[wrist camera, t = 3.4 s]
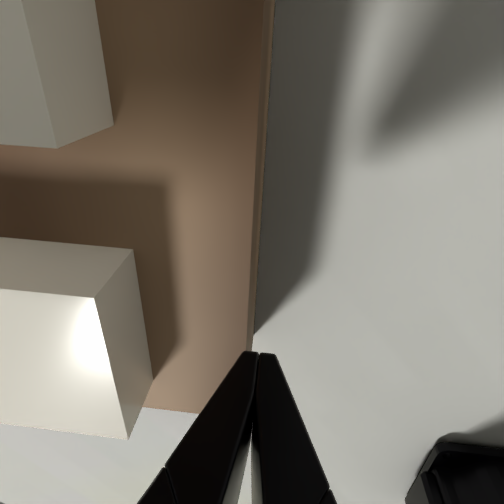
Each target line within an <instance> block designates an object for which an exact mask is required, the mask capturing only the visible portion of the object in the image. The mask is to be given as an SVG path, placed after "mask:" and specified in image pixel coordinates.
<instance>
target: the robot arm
mask: <svg viewBox="0 0 504 504" xmlns="http://www.w3.org/2000/svg"><path fill="white" fill-rule="evenodd" d="M252 424H253V425H252ZM251 433H252V438H251ZM250 441H251V483H252V504H337V502H336V500H335V497H334V495H333V492H332V490H330V489H329V487H330V486H329V483H328V481H327V478H326V476H325V473H324V471H323V469H322V466H321V464H320V461H319V459H318V456H317V454H316V451H315V449H314V447H313V444H312V442H311V439H310V437H309V434H308V432H307V430H306V427H305V425H304V422H303V420H302V417H301V415H300V412H299V410H298V408H297V405H296V403H295V400H294V398H293V395H292V393H291V391H290V388H289V386H288V383H287V381H286V378H285V376H284V373H283V371H282V369H281V366H280V364H279V361H278V359H277V357H276V355H275V354H271V353H260V354H258V352H253V351H243V352H242V353H241V354H240V356H239V357H238V359H237V360H236V362H235V363H234V365H233V366H232V368H231V369H230V370H229V372H228V373H227V375H226V376H225V378H224V379H223V381H222V382H221V384H220V385H219V386H218V388H217V389H216V391H215V392H214V394H213V395H212V397H211V398H210V399H209V401H208V402H207V404H206V405H205V407H204V408H203V410H202V411H201V413H200V414H199V415H198V417H197V418H196V420H195V421H194V423H193V424H192V426H191V427H190V429H189V430H188V431H187V433H186V434H185V436H184V437H183V439H182V440H181V442H180V443H179V445H178V446H177V447H176V449H175V450H174V452H173V453H172V455H171V456H170V458H169V459H168V460H167V462H166V463H165V468H164V467H163V468H162V469H161V470H160V472H159V473H158V475H157V476H156V478H155V479H154V481H153V482H152V483H151V485H150V486H149V488H148V489H147V490H146V492H145V493H144V494H143V496H142V497H141V499H140V500H139V501H138V503H137V504H237V503H238V498H239V494H240V489H241V485H242V480H243V475H244V471H245V466H246V461H247V457H248V452H249V447H250ZM405 503H406V504H504V449H496V448H488V447H479V446H471V445H463V444H455V443H439V444H437V445H436V446H435V447H434V448H433V450H432V452H431V454H430V455H429V457H428V459H427V461H426V462H425V464H424V466H423V468H422V470H421V471H420V473H419V475H418V477H417V478H416V480H415V482H414V484H413V485H412V487H411V489H410V491H409V493H408V494H407V496H406V498H405Z"/></svg>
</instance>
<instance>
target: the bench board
mask: <svg viewBox="0 0 504 504" xmlns="http://www.w3.org/2000/svg"><path fill="white" fill-rule="evenodd" d="M95 5H96V12H97V18H98V25H99V31H100V38H101V44H102V51H103V57H104V64H105V70H106V77H107V83H108V90H109V96H110V103H111V109H112V116H113V122H114V125H113V126H111V127H108V128H106V129H104V130H101V131H99V132H96V133H94V134H92V135H89V136H87V137H84V138H82V139H79V140H77V141H75V142H72V143H70V144H67V145H65V146H62V147H60V148H58V149H57V148H44V147H30V146H16V145H3V144H0V237H6V238H16V239H27V240H38V241H49V242H60V243H71V244H82V245H93V246H104V247H114V248H125V249H133V252H134V258H135V265H136V271H137V278H138V284H139V291H140V297H141V304H142V310H143V317H144V323H145V330H146V336H147V343H148V349H149V356H150V362H151V369H152V375H153V382H152V385H151V387H150V389H149V392H148V394H147V397H146V399H145V401H144V404H143V406H142V407H148V408H156V409H164V410H172V411H181V412H189V413H197V414H200V413H201V411H202V410H203V408H204V407H205V405H206V404H207V402H208V401H209V399H210V398H211V397H212V395H213V394H214V392H215V391H216V389H217V388H218V386H219V385H220V384H221V382H222V381H223V379H224V378H225V376H226V375H227V373H228V372H229V370H230V369H231V368H232V366H233V365H234V363H235V362H236V360H237V359H238V357H239V356H240V354H241V353H242V352H243V351H251V350H252V343H253V334H254V319H255V304H256V288H257V273H258V258H259V242H260V227H261V212H262V197H263V181H264V166H265V151H266V135H267V120H268V105H269V89H270V74H271V59H272V43H273V28H274V13H275V0H95Z"/></svg>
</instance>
